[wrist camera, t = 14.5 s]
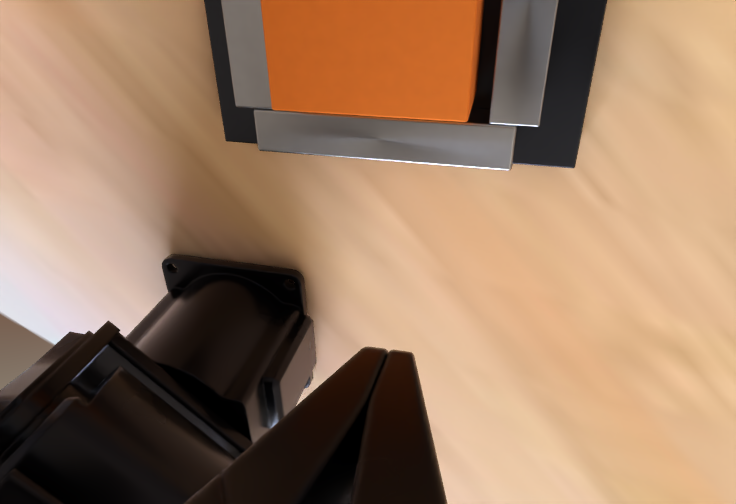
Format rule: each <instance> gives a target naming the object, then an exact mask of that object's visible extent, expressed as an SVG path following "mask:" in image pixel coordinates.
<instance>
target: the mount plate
mask: <svg viewBox="0 0 736 504" xmlns="http://www.w3.org/2000/svg"><path fill="white" fill-rule="evenodd" d="M204 2H205V9H206V15H207V22H208V28H209V35H210V41H211V48H212V54H213V61H214V67H215V74H216V80H217V87H218V93H219V100H220V106H221V113H222V119H223V126H224V132H225V139H226V141H231V142H243V143H256V144H258V149H259V150H260V151H272V152H284V153H297V154H309V155H321V156H334V157H346V158H358V159H371V160H383V161H396V162H408V163H420V164H433V165H445V166H457V167H470V168H482V169H495V170H507V171H509V170H511V168H512V164H525V165H538V166H551V167H564V168H574V167H575V164H576V159H577V154H578V149H579V143H580V138H581V133H582V128H583V123H584V118H585V113H586V107H587V102H588V97H589V92H590V87H591V82H592V76H593V71H594V66H595V61H596V56H597V51H598V46H599V40H600V35H601V30H602V25H603V20H604V15H605V10H606V4H607V0H484V12H483V23H482V35H481V46H480V58H479V69H478V81H477V91H476V94H475V98H474V101H473V105H472V108H471V111H470V115H469V118H468V121H467V122H457V121H441V120H425V119H409V118H393V117H377V116H361V115H345V114H329V113H313V112H297V111H281V110H273V109H272V106H271V96H270V87H269V77H268V68H267V59H266V49H265V40H264V30H263V21H262V11H261V2H260V0H204Z"/></svg>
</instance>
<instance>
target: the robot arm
mask: <svg viewBox="0 0 736 504" xmlns="http://www.w3.org/2000/svg"><path fill="white" fill-rule="evenodd" d="M173 264H174V265H175V266H176V267H177V268H175V267H174V266H173ZM162 269H163V273H164V277H165V281H166V285H167V289H168V294H167V295H166V296H165V297H164V298H163V299H162V300H161V301H160V302H159V303H158V304H157V305H156V306H155V307H154V308H153V309H152V310H151V312H150V313H149V314H148V315H147V316H146V317H145V318H144V319H143V320H142V321H141V322H140V323H139V324H138V325H137V326H136V327H135V328H134V329H133V331H132V332H131V333H130V334H129V335H128V336H127V337H126V338H125V337H124V336H123V335H121V334H120V333H119V331H120V329H118V328H117V327H116V326H115V325H113V324H112V323H111V322H110V321H107V322H106V323H105V324H104V325H103V326H102V327H101V328H100V329H99V330H98V331H97V332H96V333H95V334H93V333H91V332H90V331H88V332H87V333H86V334H80V333H74V332H69V333H68V334H67V335H66V336H65V337H63V338H62V339H61V340H60V341H59V342H58V343H57V344H56V345H55V346H54V347H53V348H52V349H50V350H49V351H48V352H47V353H46V354H45V355H44V356H43V357H42V358H40V359H39V360H38V361H37V362H36V363H35V364H33V365H32V366H31V367H30V368H29V369H27V370H26V371H24V372H23V373H22V374H20V375H19V376H18V377H17V378H15V379H14V380H13V381H11V382H10V383H9V384H7V385H6V386H5V387H4V388H3V389H1V390H0V504H447V500H446V496H445V491H444V487H443V482H442V478H441V473H440V469H439V465H438V460H437V456H436V451H435V447H434V442H433V438H432V433H431V429H430V424H429V420H428V416H427V411H426V407H425V402H424V398H423V393H422V389H421V384H420V380H419V375H418V371H417V367H416V362H415V358H414V355H413V353H411V352H407V351H399V350H391V351H389V352H388V351H387V350H386V349H383V348H375V347H364V348H363V349H361V350H360V351H359V352H358V353H357V354H355V355H354V356H353V357H352V358H351V359H350V360H349V361H347V362H346V363H345V364H344V365H343V366H342V367H341V368H339V369H338V370H337V371H336V372H335V373H334V374H333V375H331V376H330V377H329V378H328V379H327V380H326V381H325V382H323V383H322V384H321V385H320V386H319V387H318V388H316V389H315V390H314V391H313V392H312V393H311V394H310V395H308V396H307V397H306V398H305V399H304V400H303V401H302V402H300V403H299V404H298V405H297V406H296V404H297V402H298V400H299V398H300V396H301V394H302V391H303V389H304V388H307V387H309V385H310V384H311V381H312V379H313V371H312V370H313V368H314V366H315V364H316V351H315V339H314V327H313V320H312V319H311V317H310V316H309V315H307V303H306V292H305V281H304V277H303V276H302V274H301V273H300V272H298V271H297V270H293V269H287V268H279V267H271V266H263V265H255V264H247V263H240V262H232V261H224V260H216V259H208V258H201V257H193V256H185V255H177V254H171V255H169V256H168V257H167V258H166V259H165V260H164V261H163V263H162ZM288 279H290V280H293V281H294V282H295V284H292V283H290V282H289V281H288ZM295 406H296V407H295Z"/></svg>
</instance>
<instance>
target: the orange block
mask: <svg viewBox="0 0 736 504" xmlns="http://www.w3.org/2000/svg"><path fill="white" fill-rule="evenodd" d="M260 2H261V11H262V21H263V30H264V40H265V49H266V59H267V68H268V77H269V87H270V96H271V106H272V109H273V110H281V111H297V112H313V113H329V114H345V115H361V116H377V117H393V118H409V119H425V120H441V121H457V122H467V121H468V118H469V115H470V111H471V108H472V105H473V101H474V98H475V94H476V91H477V81H478V69H479V58H480V46H481V35H482V23H483V12H484V0H260Z"/></svg>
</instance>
